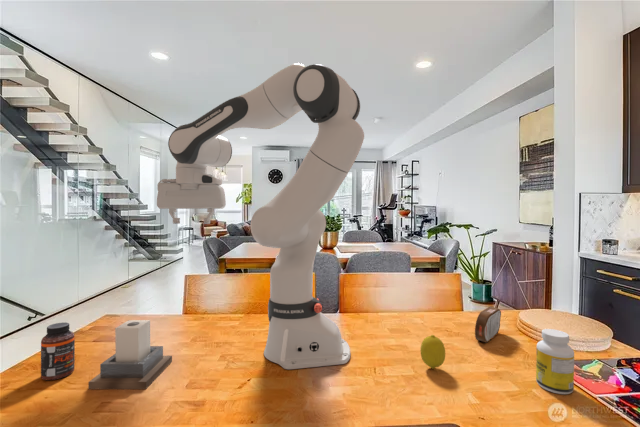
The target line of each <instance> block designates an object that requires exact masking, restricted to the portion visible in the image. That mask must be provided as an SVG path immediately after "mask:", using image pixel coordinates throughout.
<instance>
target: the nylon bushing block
mask: <svg viewBox="0 0 640 427" xmlns="http://www.w3.org/2000/svg"><path fill="white" fill-rule="evenodd" d="M114 332H115V333H114V334H115V336H114V337H115V338H114V339H115V341H114V342H115V353H116V362H141V361H142V360H143V359H145V358H146V357H147V356H148V355H149V354H150V346H151V320H150V319H148V320H147V319H146V320H145V319H141V320H139V319H138V320H137V319H135V320H134V319H129V320H127V321H125V322H124V323H122V324H119V325H118V326H116V327H115V331H114Z"/></svg>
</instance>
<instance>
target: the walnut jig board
mask: <svg viewBox="0 0 640 427" xmlns="http://www.w3.org/2000/svg"><path fill="white" fill-rule="evenodd" d="M172 362H173V355H163V359H162V360H161V361H160V362H159V363H158V364H157V365H156V366H155V367H154V368H153V369H152V370H151V371H150V372H149V373H148V374H147V375H146V376H145V377H144V378H100V373H98V374H97V375H96V376H95V377H93V378H92V379H91V380H89V381H88V384H87V385H88V388H87V389H88V390H147V389H148V388H149V387H150V386H151V385H152V384H153V383H154V382H155V380H157V378H158V377H159V376H160V375H161V374H162V373H163V372H164V371H165V370H166V369H167V368H168V367H169V366H170V364H171V363H172Z"/></svg>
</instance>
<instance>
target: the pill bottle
mask: <svg viewBox="0 0 640 427" xmlns="http://www.w3.org/2000/svg"><path fill="white" fill-rule="evenodd" d="M541 338H542V340H539V341H538V342H537V343H536V358H535V360H536V364H535V365H536V366H535V370H536V371H535V372H536V374H535V380H536V383H537V385H538V386H539V387H541V388H542V389H544V390H545V391H548V392H550V393H554V394H558V395H569V394H571V393H573V392H574V390H575V389H574V388H575V386H574V384H575V382H574V380H575V378H574V377H575V376H574V375H575V351H574V349H573V348H572V347H571V345H569V343H570V334H568V333H567V332H564V331H562V330H559V329H555V328H554V329H553V328H544V329H542V330H541Z"/></svg>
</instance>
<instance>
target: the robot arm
mask: <svg viewBox="0 0 640 427" xmlns="http://www.w3.org/2000/svg"><path fill="white" fill-rule="evenodd" d="M301 111H303V112H304V114H306V116H307V117H308V118H309V119H310V121H311V122H312V123H315V124H317V125H318V131H317V134H316V138H315V139H314V141H313V143H312V145H311V146H310V148H309V149H308V151H307V153H306V155H305V157H304V158H303V160H302V162H301V163H300V165H299V167H298V169H297V170H296V172H295V174H294V175H293V176H292V178H291V179H290V180H289V181H288V182H287V184H286V185H285V186H284V187H283V188H282V189H281V190H280V191H279V192H278V193H277V194H276V195H275V196H274V197H273V198H272V199H271V200H270V201H269V202H267V203H266V204H264V205H263V206H261V207H259V208H258V209H257V210H255V212H253V214H252V216H251V220H250V232H251V235H252V238H253V239H254V241H255V242H256V243H257V244H259V245H260V246H262V247H267V248H273V249H280V250H279V252H278V256H277V258H276V260H275V261H274V262H273V264H272V265H271V267H270V272H269V273H270V274H269V276H270V278H269V282H270V284H269V286H270V287H269V290H270V291H269V294H270V295H269V296H270V297H269V299H268V304H267V312H268V313H267V317H268V322H269V324H268V332H267V333H268V334H267V337H266V338H267V339H266V345H265V348H264V351H263V355H264V358H266V360H269V361H270V362H271V363H275V364H278V365H279V366H281V367H282V368H283V369H284V370H297V369H305V368H307V369H308V368H316V367H328V366H335V365H345V364H347V363H348V362H349V361H350V359H351V347H350V345H349V343H348V342H347V340H345V339H344V338H342V335H341V331H340V329H339V328H340V327H339V326H338V325H337V323H336V322H335V321H334V320H332V319H331V318H329V317H328V316H326V315H325V314H324V313H323V312H322V311H323V306H322V304H321V301H320V299H319V298H318V297H317V298H316V297H314V296H313V292H314V291H313V288H314V286H313V283H314V281H313V278H314V277H313V276H314V275H313V274H314V265H315V259H316V255H317V250H318V246H319V243H320V240H321V238H322V235H323V234H324V232H325V230H326V228H327V219H326V215H325V214H324V213H323V211H322V210H321V208H323V207H324V206H325V205H326V204H327V203H328V202H330V201H331V200H332V199H333V198H334V197H335V195H336V194H337V192H338V190H339V188H340V187H341V185H342V184H343V182H344V180H346V177H347V176H348V174H349V172H350V170H351V169H352V167H353V166H354V163H355V162H356V159H357V157H358V156H359V154H360V151H361V148H362V145H363V144H364V139H365V132H364V129H363V128H362V125H360V124H359V123H358V122H357V121H356V120H357V118H358V116H359V115H360V112H361V102H360V98H359V96H358V94H357V92H356V91H355V90H354V89H353V88H352V87H351V86H350V84H349V83H348V82H347V80H345V78H343V77H342V76H341V75H340V74H338V73H336V72H335V71H334V69H331V68H330V67H329V66H326V65H323V64H319V63H318V64H314V63H313V64H310V65H307V66H305V65H304V64H302V63H301V64H300V63H292V64H290V65H288V66H286V67H284V68H283V69H280V70H279V71H277V72H275V73H274V74H273V75H271V76H270V77H268V78H267V79H266V80H264V82H262V83H260V84H259V85H257V86H256V87H255V88H253V89H251V90H250V91H247V92H245V93H243V94H241V95H238V96H235V97H233V98H229V99H228V100H225V101H223V102H222V103H221V104H219V105H217V106H216V107H214V108H213V109H211V110H210V111H207V112H206V113H205V114H203V115H202V116H200V117H199V118H197V119H196V120H193V121H192V122H189V123H185V124H181V125H180V126H178V127H176V128H175V129H174V130H173V131H172V132H171V134H170V135H169V137H168V143H167V146H168V149H169V152H170V154H171V156H172V157H173V159H175V161H176V166H175V178H169V179H167V178H163V179H161V180H159V181H158V183H157V187H156V189H157V196H156V207H157V208H158V209H161V210H162V209H164V210H165V209H166V210H168V213H169V215H170V216H171V218H172V224H173V225H179V224H181V221H180V220H181V217H178V216H177V215H176V213H177V210H181V209H182V210H185V209H187V210H190V209H192V210H193V209H194V210H195V209H199V210H200V209H201V210H203V209H204V210H205V209H206V212H207V213H208V214H207V216H206V217H203V224H204V225H205V224H206V225H210V224H211V219H212V217H213V215H214V214H215V210H216V209H217V210H218V209H219V210H221V209H224V208H225V207H226V192H225V189H224V188H223V186H222V185H223V180H222V179H221V178H220V177H217V176H215V175H214V176H213V174H208V173H207V167H213V168H220V167H221V168H222V167H224V166H226V165H228V163H229V162H230V161H231V158H232V155H233V147H232V143H231V142H230V139H228V138H226V137H224V136H222V135H223V134H225V133H226V132H228V131H231V130H234V129H241V128H243V129H245V128H248V129H260V130H271V129H274V128H277V127H278V126H281V125H283V124H285V123H286V122H287V121H288V120H290V119H291V118H292V117H294V116H295V115H296V114H298V113H299V112H301Z"/></svg>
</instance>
